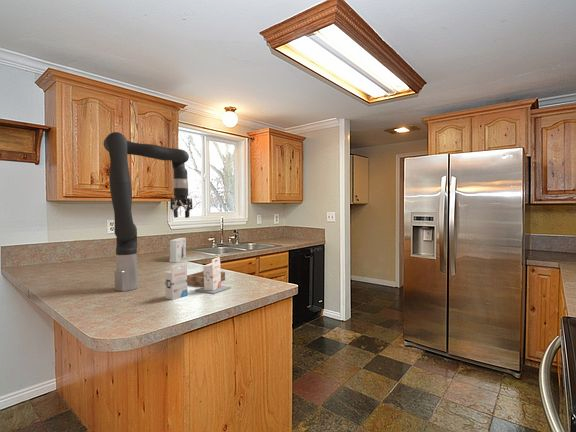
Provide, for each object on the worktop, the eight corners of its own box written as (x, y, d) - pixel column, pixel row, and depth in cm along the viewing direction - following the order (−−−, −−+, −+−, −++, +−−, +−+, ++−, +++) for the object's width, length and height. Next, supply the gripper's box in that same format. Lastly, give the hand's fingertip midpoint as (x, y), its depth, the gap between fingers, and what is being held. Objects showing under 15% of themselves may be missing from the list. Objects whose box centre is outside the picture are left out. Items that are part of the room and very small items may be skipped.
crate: (225, 280, 175) (224, 272, 175) (204, 286, 161) (203, 278, 161) (207, 277, 181) (207, 270, 181) (186, 284, 167) (185, 275, 167)
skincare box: (177, 262, 233) (176, 240, 232) (169, 262, 233) (168, 240, 232) (186, 257, 254) (186, 237, 253) (179, 257, 254) (179, 237, 253)
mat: (214, 294, 148) (214, 292, 148) (194, 291, 153) (194, 289, 153) (231, 288, 158) (231, 286, 158) (212, 285, 164) (212, 284, 164)
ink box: (180, 293, 149) (180, 262, 148) (188, 295, 146) (187, 262, 146) (164, 298, 141) (164, 265, 141) (172, 300, 139) (171, 266, 138)
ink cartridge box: (212, 285, 161) (211, 256, 160) (221, 286, 159) (220, 256, 159) (203, 290, 152) (202, 259, 152) (213, 290, 151) (212, 259, 151)
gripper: (166, 187, 175) (166, 217, 176) (185, 186, 168) (185, 218, 169) (176, 188, 182) (177, 217, 182) (195, 187, 175) (196, 217, 175)
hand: (181, 217), depth 176 cm, fingers open, 8 cm apart
